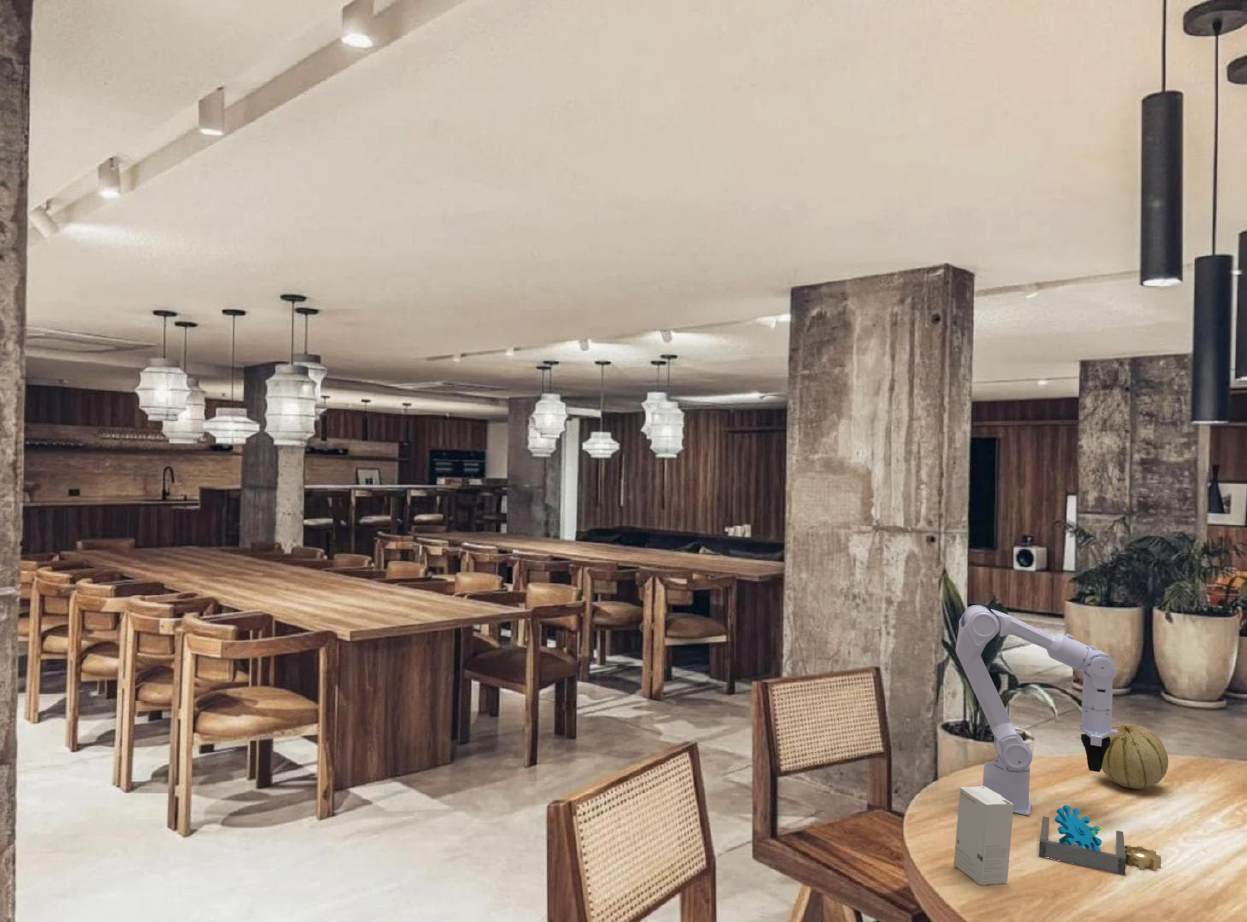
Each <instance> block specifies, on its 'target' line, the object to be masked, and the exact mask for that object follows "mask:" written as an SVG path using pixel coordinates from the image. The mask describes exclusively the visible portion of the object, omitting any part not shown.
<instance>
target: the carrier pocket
mask: <svg viewBox="0 0 1247 922" xmlns="http://www.w3.org/2000/svg"><path fill="white" fill-rule="evenodd" d="M1049 834H1050V817H1049V816H1046V815H1045V816H1044V815H1043V816H1042V819H1041V828H1040V835H1039V844H1038V846H1039V847H1038V857H1039V856H1041V857H1040V858H1043V857H1049V858H1052V859H1055V860H1054V861H1057V860H1060V861H1059V862H1061V861H1062V863H1067V864H1070V863H1073V864H1072V865H1075V864H1076V865H1075V866H1080V867H1086V868H1090V869H1093V870H1099V871H1102V870H1103V872H1107V873H1108V872H1109V873H1113V874H1116V875H1122V876H1126V867H1127V866H1129V867H1130V866H1133V867H1136V868H1138V870H1141V871H1145V870H1151V871H1154V872H1156V871H1158V868H1159V869H1162V856H1161V855H1159V854H1157V851H1155V850H1154V849H1146V848H1144V846H1141V845H1137V846H1131V845H1130V844H1129V845H1128V844H1125V837H1124V836H1125V834H1124V831H1121V830H1116V831H1115V854H1114V853H1110V852H1106V851H1102V850H1101V851H1096V850H1091V849H1092V848H1091V849H1086V847H1084V848H1082V847H1079V846H1077V845H1068V844H1067V843H1060V842H1059V841H1058V842H1057V841H1052V840H1049ZM1052 859H1051V860H1052ZM1126 865H1127V866H1126Z"/></svg>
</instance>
